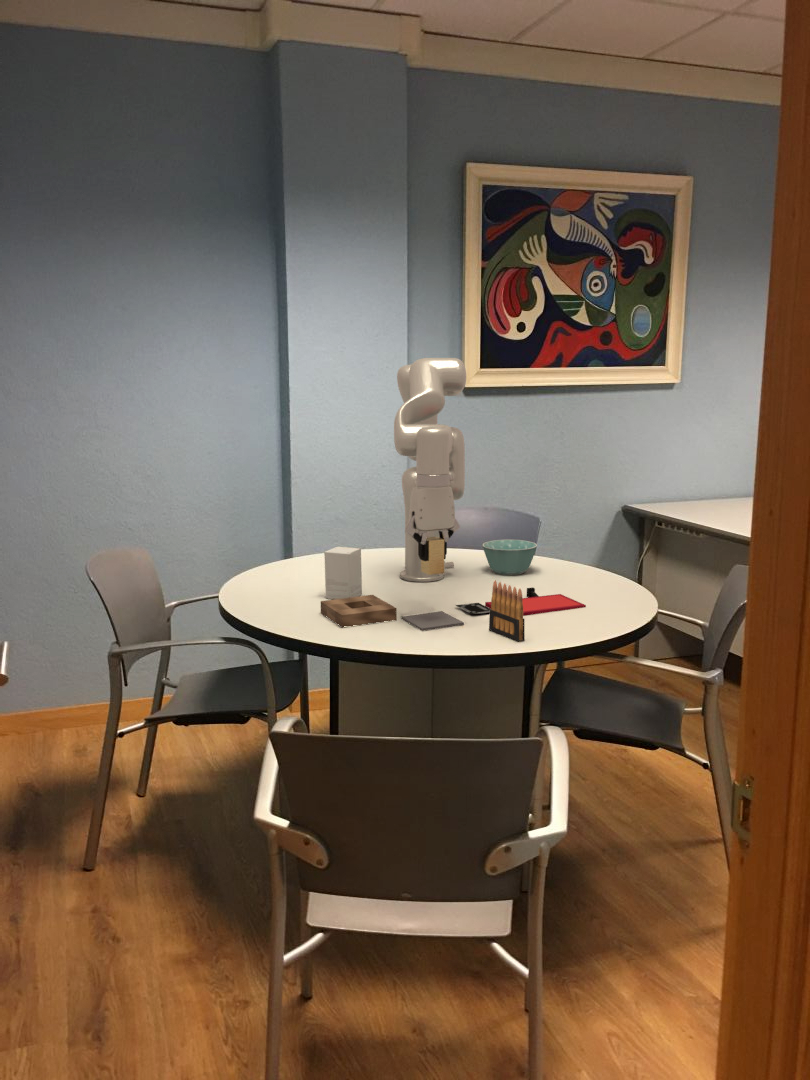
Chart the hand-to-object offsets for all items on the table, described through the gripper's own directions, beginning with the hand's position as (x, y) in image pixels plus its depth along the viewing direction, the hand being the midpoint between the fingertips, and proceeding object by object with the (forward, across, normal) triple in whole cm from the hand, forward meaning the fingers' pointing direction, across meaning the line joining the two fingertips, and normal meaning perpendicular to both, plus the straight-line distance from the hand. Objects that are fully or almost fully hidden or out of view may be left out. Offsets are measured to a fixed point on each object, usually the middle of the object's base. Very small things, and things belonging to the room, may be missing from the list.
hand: (432, 558), depth 216 cm
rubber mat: (+15, 0, 0) cm, 15 cm away
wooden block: (+3, 0, 0) cm, 3 cm away
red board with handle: (+16, -26, -3) cm, 31 cm away
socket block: (+15, +14, -12) cm, 24 cm away
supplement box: (+16, +10, -31) cm, 36 cm away
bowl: (+15, -44, -36) cm, 59 cm away
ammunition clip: (+16, -10, +17) cm, 25 cm away
